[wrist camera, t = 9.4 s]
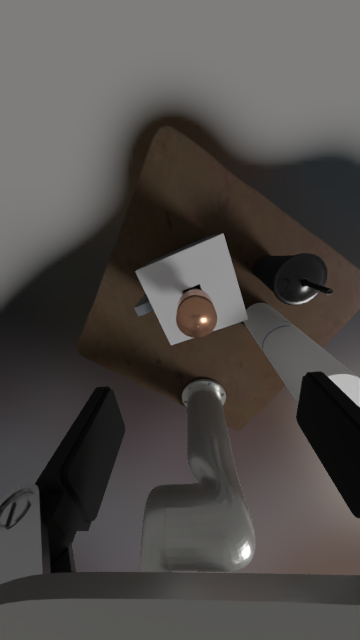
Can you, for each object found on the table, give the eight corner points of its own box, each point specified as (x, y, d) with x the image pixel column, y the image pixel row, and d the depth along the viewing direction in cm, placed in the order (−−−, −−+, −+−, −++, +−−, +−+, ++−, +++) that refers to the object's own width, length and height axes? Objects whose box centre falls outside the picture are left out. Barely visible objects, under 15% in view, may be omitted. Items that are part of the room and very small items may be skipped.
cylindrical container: (242, 305, 44) (303, 377, 21) (274, 300, 43) (373, 370, 20) (243, 332, 47) (298, 422, 24) (273, 328, 46) (360, 417, 23)
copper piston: (205, 246, 37) (228, 256, 16) (218, 288, 40) (253, 343, 19) (163, 263, 39) (134, 294, 17) (180, 302, 42) (172, 368, 21)
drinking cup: (265, 240, 38) (338, 242, 20) (291, 264, 40) (380, 285, 21) (239, 271, 41) (281, 298, 22) (264, 292, 42) (323, 332, 24)
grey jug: (208, 235, 38) (223, 233, 22) (225, 289, 42) (248, 319, 27) (139, 265, 41) (110, 281, 25) (162, 313, 45) (148, 352, 30)
